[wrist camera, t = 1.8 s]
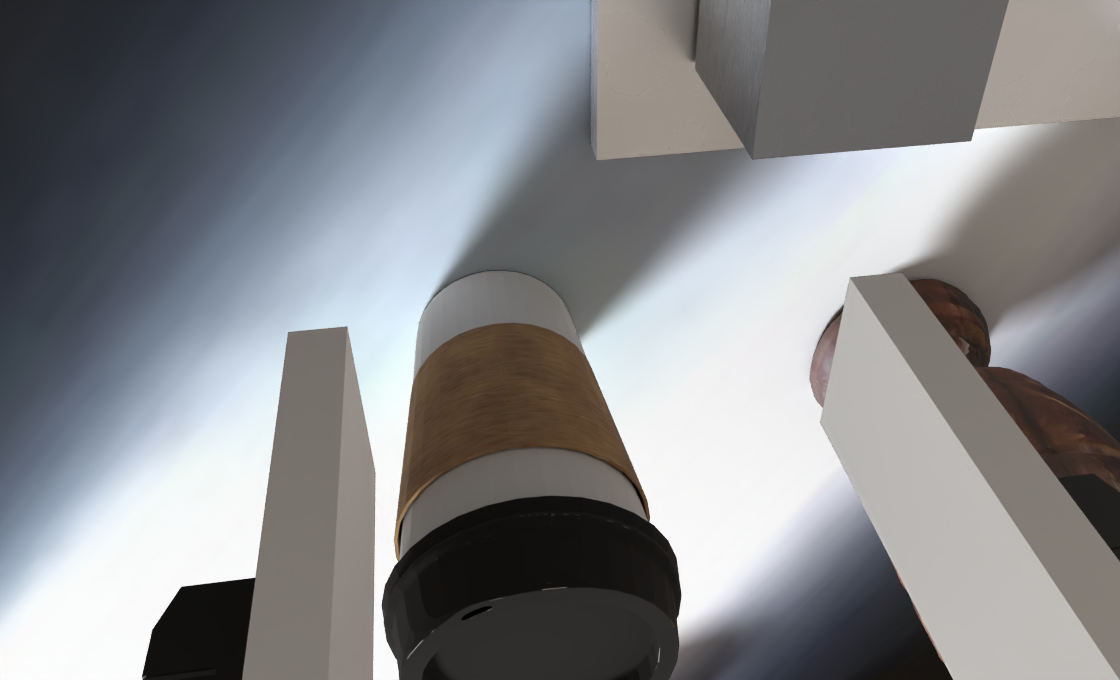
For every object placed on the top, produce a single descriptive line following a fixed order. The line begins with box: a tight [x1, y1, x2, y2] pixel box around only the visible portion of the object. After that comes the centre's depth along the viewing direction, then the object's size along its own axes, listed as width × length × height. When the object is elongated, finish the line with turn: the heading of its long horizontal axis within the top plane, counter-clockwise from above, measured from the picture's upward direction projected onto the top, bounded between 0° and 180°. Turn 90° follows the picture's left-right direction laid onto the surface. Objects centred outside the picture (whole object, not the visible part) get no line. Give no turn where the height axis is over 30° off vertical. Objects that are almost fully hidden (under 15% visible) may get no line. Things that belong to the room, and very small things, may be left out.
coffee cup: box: [382, 271, 681, 680], centre depth 31 cm, size 8×8×15 cm
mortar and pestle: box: [810, 280, 1120, 662], centre depth 32 cm, size 12×9×20 cm
